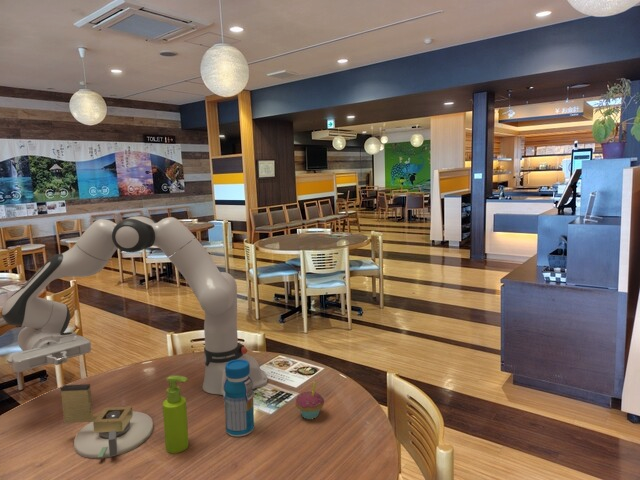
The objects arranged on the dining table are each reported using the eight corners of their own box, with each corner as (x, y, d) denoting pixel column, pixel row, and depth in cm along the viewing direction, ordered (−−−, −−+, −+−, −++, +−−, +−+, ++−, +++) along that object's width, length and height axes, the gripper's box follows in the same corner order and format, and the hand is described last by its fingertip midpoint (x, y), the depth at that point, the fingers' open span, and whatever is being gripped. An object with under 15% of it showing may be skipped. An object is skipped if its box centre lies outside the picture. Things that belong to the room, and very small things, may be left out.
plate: (161, 414, 131) (160, 396, 130) (136, 461, 110) (134, 439, 109) (94, 417, 130) (93, 399, 129) (55, 465, 108) (53, 444, 107)
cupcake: (328, 411, 132) (328, 375, 130) (316, 426, 124) (316, 387, 122) (303, 405, 135) (302, 370, 134) (290, 419, 128) (289, 382, 126)
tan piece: (132, 415, 124) (129, 377, 123) (122, 431, 117) (119, 390, 115) (72, 418, 123) (68, 380, 121) (58, 434, 116) (53, 393, 114)
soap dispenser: (185, 455, 112) (180, 383, 109) (161, 451, 113) (156, 381, 110) (196, 441, 118) (191, 373, 115) (173, 438, 119) (168, 371, 116)
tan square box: (134, 421, 125) (133, 405, 124) (123, 438, 117) (122, 421, 116) (106, 423, 124) (104, 407, 124) (93, 439, 116) (92, 423, 116)
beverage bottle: (229, 441, 118) (226, 372, 115) (221, 425, 125) (218, 361, 122) (258, 432, 121) (256, 366, 118) (249, 418, 129) (247, 355, 126)
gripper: (3, 348, 124) (17, 362, 115) (79, 330, 139) (97, 340, 130) (6, 369, 125) (20, 384, 116) (81, 348, 140) (98, 360, 131)
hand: (61, 361), depth 123 cm, fingers closed
